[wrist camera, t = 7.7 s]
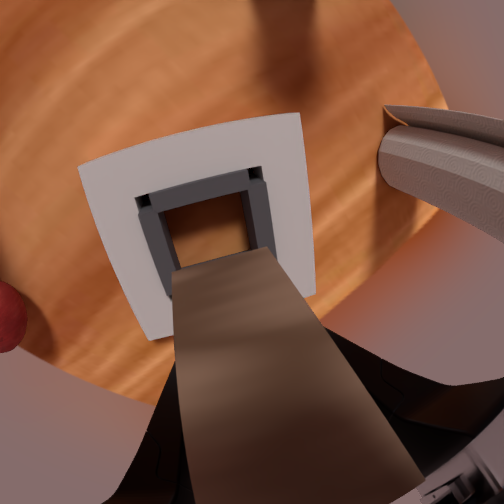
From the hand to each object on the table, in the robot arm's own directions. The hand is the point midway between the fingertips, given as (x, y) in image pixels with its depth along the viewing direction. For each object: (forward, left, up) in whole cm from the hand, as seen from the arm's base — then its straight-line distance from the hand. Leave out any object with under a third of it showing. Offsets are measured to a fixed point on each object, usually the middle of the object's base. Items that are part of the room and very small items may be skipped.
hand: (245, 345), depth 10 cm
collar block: (0, 0, -12) cm, 12 cm away
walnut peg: (0, 0, -3) cm, 3 cm away
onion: (-19, -1, -12) cm, 23 cm away
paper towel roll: (+18, +3, -12) cm, 22 cm away
